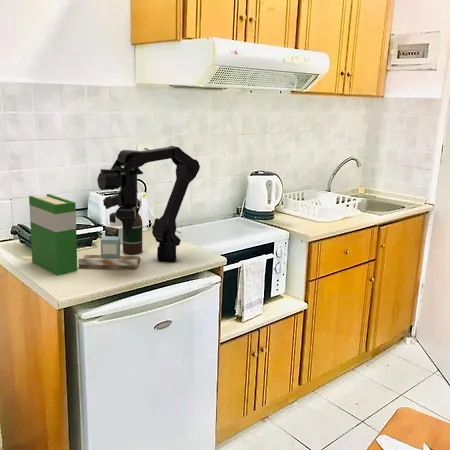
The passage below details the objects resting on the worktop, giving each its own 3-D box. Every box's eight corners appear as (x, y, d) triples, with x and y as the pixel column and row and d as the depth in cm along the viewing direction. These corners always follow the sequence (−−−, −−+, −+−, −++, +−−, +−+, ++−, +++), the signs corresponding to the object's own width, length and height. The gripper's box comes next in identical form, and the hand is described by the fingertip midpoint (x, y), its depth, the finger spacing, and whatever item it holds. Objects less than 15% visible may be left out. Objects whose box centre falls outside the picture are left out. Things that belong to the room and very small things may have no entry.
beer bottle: (144, 249, 201) (145, 190, 195) (139, 255, 194) (139, 193, 188) (125, 248, 202) (125, 188, 196) (119, 254, 194) (119, 192, 188)
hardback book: (32, 262, 181) (28, 196, 175) (51, 258, 186) (49, 193, 180) (57, 275, 169) (54, 205, 163) (77, 271, 174) (75, 202, 169)
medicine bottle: (104, 242, 209) (104, 213, 206) (116, 238, 215) (115, 210, 212) (118, 244, 206) (118, 216, 203) (129, 241, 212) (129, 213, 209)
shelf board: (140, 260, 189) (140, 251, 188) (136, 270, 178) (136, 260, 177) (85, 258, 187) (85, 249, 187) (78, 268, 176) (78, 259, 176)
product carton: (103, 257, 185) (103, 236, 183) (120, 257, 185) (120, 236, 183) (101, 261, 181) (100, 239, 179) (118, 261, 181) (117, 240, 179)
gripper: (109, 182, 182) (109, 224, 186) (99, 191, 164) (100, 238, 168) (140, 183, 182) (140, 225, 186) (134, 193, 164) (134, 239, 168)
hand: (128, 231), depth 177 cm, fingers open, 9 cm apart
